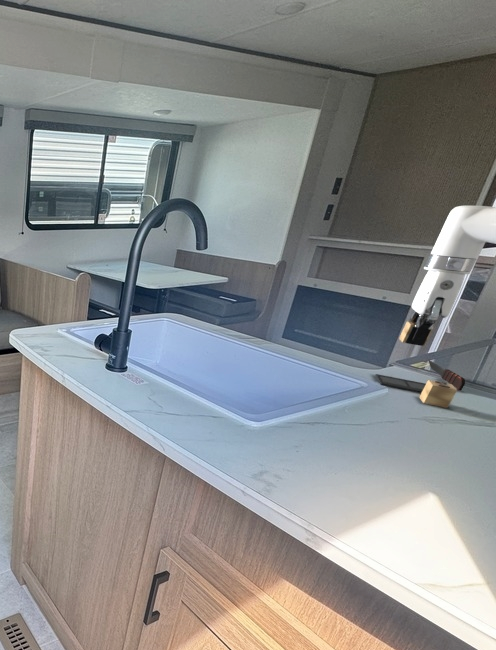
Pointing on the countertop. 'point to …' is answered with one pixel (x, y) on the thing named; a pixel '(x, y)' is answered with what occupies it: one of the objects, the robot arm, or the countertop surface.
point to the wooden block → (407, 331)
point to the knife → (448, 376)
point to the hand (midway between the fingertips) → (411, 341)
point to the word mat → (400, 383)
